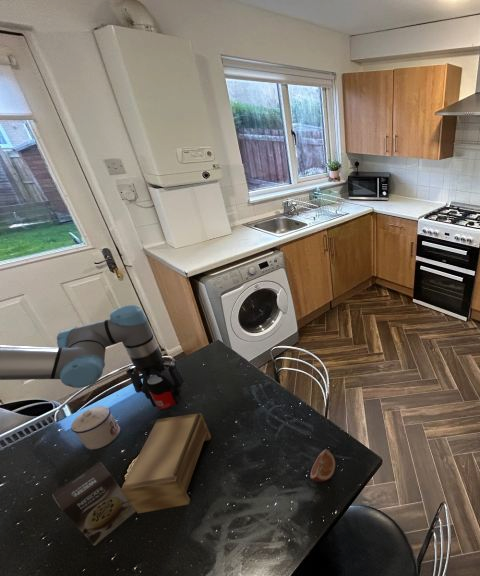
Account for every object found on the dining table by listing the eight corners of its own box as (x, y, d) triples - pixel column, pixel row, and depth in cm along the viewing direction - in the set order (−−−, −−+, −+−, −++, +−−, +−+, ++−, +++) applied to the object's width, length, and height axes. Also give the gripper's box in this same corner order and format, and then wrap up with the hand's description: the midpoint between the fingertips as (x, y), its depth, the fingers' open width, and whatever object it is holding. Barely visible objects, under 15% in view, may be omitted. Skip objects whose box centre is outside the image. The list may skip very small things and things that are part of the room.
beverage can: (171, 410, 106) (159, 385, 100) (153, 410, 106) (140, 384, 100) (182, 396, 111) (171, 371, 105) (164, 395, 111) (153, 371, 106)
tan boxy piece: (137, 513, 79) (118, 487, 73) (169, 442, 96) (156, 416, 90) (188, 504, 81) (173, 477, 75) (211, 436, 98) (200, 410, 92)
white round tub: (123, 438, 97) (107, 413, 92) (85, 456, 92) (66, 431, 86) (118, 414, 105) (103, 389, 100) (83, 430, 100) (65, 405, 94)
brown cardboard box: (94, 547, 73) (60, 511, 65) (83, 530, 76) (49, 494, 68) (137, 510, 80) (111, 474, 72) (126, 496, 83) (99, 460, 75)
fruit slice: (318, 456, 93) (316, 446, 90) (339, 460, 92) (338, 450, 89) (306, 485, 86) (304, 474, 83) (330, 490, 85) (328, 479, 82)
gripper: (182, 340, 102) (200, 390, 113) (116, 346, 99) (142, 397, 110) (173, 355, 96) (193, 407, 107) (102, 362, 92) (131, 415, 103)
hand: (167, 402), depth 108 cm, fingers closed on beverage can, 6 cm apart
